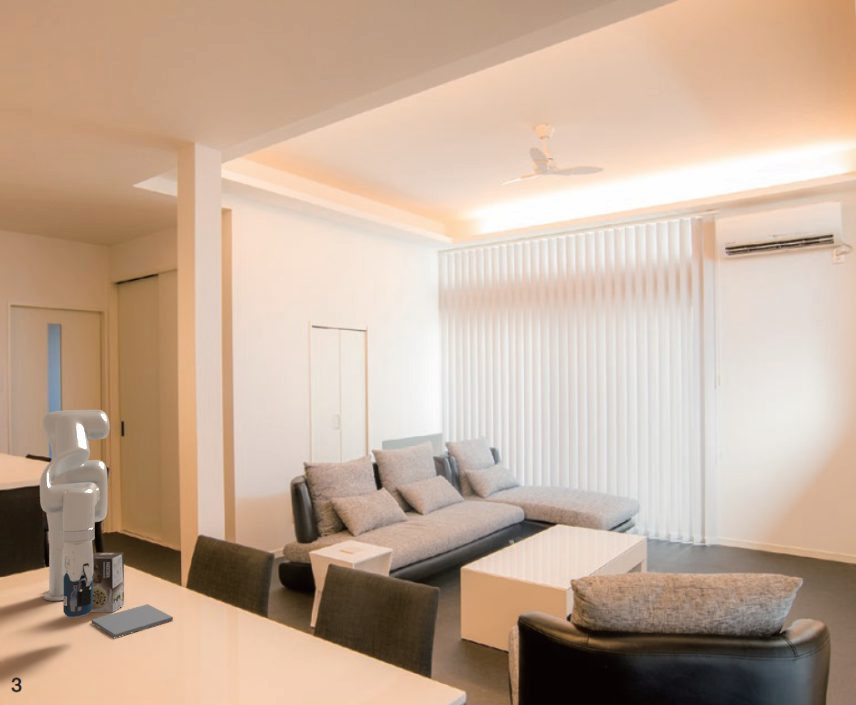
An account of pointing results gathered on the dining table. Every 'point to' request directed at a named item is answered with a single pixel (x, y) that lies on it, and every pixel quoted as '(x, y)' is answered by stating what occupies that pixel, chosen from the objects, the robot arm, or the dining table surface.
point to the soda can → (74, 599)
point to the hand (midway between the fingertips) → (78, 601)
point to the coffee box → (108, 582)
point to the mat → (131, 620)
